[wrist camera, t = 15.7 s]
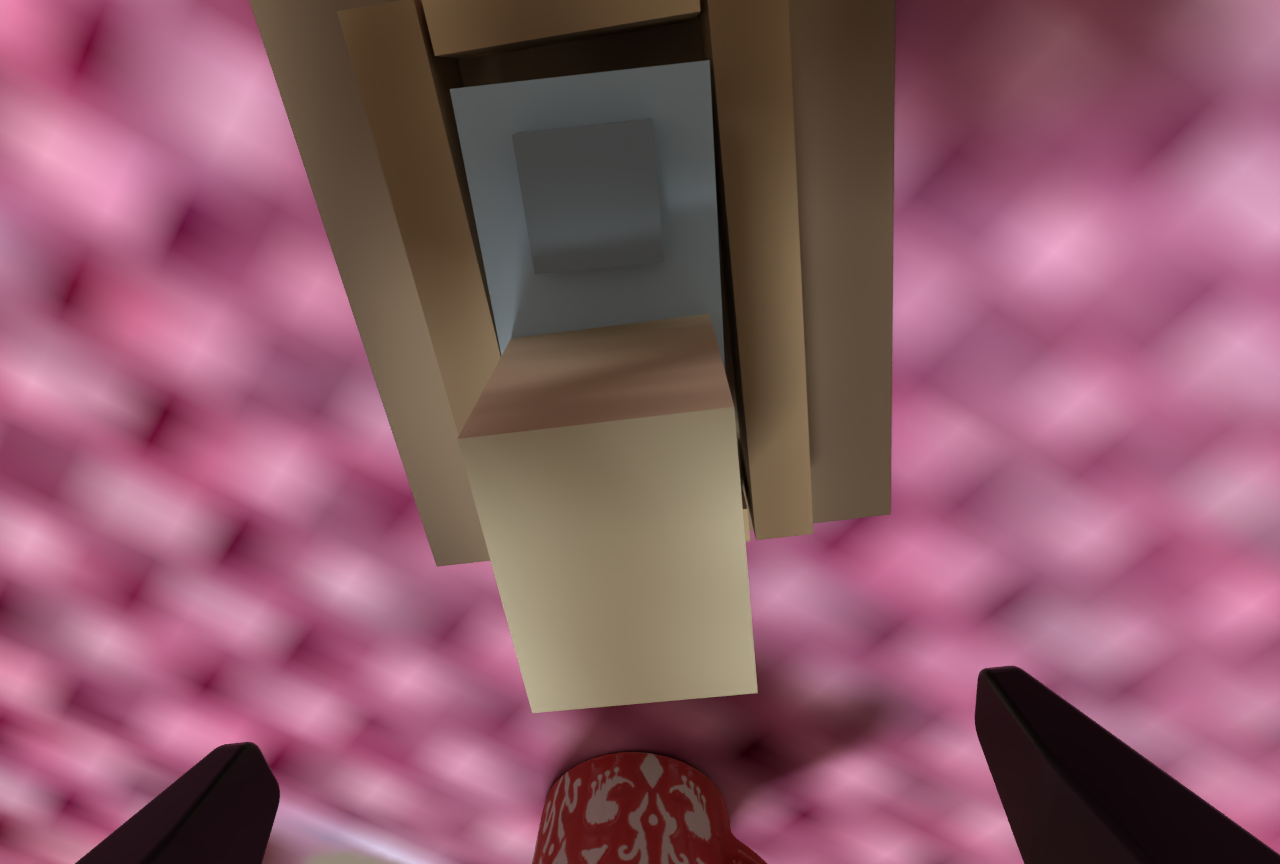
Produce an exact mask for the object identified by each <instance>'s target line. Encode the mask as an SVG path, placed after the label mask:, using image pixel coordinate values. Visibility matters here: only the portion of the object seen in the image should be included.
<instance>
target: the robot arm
mask: <svg viewBox="0 0 1280 864" xmlns="http://www.w3.org/2000/svg"><path fill="white" fill-rule="evenodd" d="M975 726H976V732H977V735H978V739H979V742H980V744H981V747H982V750H983V753H984V755H985V758H986V761H987V763H988V766H989V769H990V772H991V774H992V777H993V780H994V783H995V785H996V788H997V791H998V794H999V796H1000V799H1001V802H1002V804H1003V807H1004V810H1005V813H1006V815H1007V818H1008V821H1009V824H1010V826H1011V829H1012V832H1013V835H1014V837H1015V840H1016V843H1017V845H1018V848H1019V851H1020V853H1021V856H1022V859H1023V861H1024V864H1280V854H1278V853H1277V852H1275V851H1274V850H1273V849H1271V848H1270V847H1268V846H1267V845H1266V844H1264V843H1263V842H1262V841H1260V840H1259V839H1257V838H1256V837H1255V836H1253V835H1252V834H1250V833H1249V832H1248V831H1246V830H1245V829H1243V828H1242V827H1241V826H1239V825H1238V824H1237V823H1235V822H1234V821H1232V820H1231V819H1230V818H1228V817H1227V816H1225V815H1224V814H1223V813H1221V812H1220V811H1218V810H1217V809H1216V808H1214V807H1213V806H1212V805H1210V804H1209V803H1207V802H1206V801H1205V800H1203V799H1202V798H1200V797H1199V796H1198V795H1196V794H1195V793H1193V792H1192V791H1191V790H1189V789H1188V788H1187V787H1185V786H1184V785H1182V784H1181V783H1180V782H1178V781H1177V780H1175V779H1174V778H1173V777H1171V776H1170V775H1168V774H1167V773H1166V772H1164V771H1163V770H1162V769H1160V768H1159V767H1157V766H1156V765H1155V764H1153V763H1152V762H1150V761H1149V760H1148V759H1146V758H1145V757H1143V756H1142V755H1141V754H1139V753H1138V752H1137V751H1135V750H1134V749H1132V748H1131V747H1130V746H1128V745H1127V744H1125V743H1124V742H1123V741H1121V740H1120V739H1118V738H1117V737H1116V736H1114V735H1113V734H1111V733H1110V732H1109V731H1107V730H1106V729H1105V728H1103V727H1102V726H1100V725H1099V724H1098V723H1096V722H1095V721H1093V720H1092V719H1091V718H1089V717H1088V716H1086V715H1085V714H1084V713H1082V712H1081V711H1080V710H1078V709H1077V708H1075V707H1074V706H1073V705H1071V704H1070V703H1068V702H1067V701H1066V700H1064V699H1063V698H1061V697H1060V696H1059V695H1057V694H1056V693H1055V692H1053V691H1052V690H1050V689H1049V688H1048V687H1046V686H1045V685H1043V684H1042V683H1041V682H1039V681H1038V680H1036V679H1035V678H1034V677H1032V676H1031V675H1030V674H1028V673H1027V672H1025V671H1024V670H1022V669H1021V668H1018V667H1016V666H1003V667H993V668H985V669H983V670H981V671H980V673H979V676H978V683H977V695H976V707H975ZM279 799H280V789H279V784H278V782H277V780H276V778H275V776H274V774H273V772H272V771H271V769H270V767H269V765H268V763H267V761H266V759H265V758H264V756H263V754H262V752H261V750H260V748H259V747H258V746H257V745H256V744H254V743H252V742H243V743H233V744H225V745H222V746H219V747H217V748H216V749H214V750H213V751H212V752H210V753H209V754H208V755H207V756H206V757H204V758H203V759H202V760H201V761H200V762H198V763H197V764H196V765H195V766H193V767H192V768H191V769H190V770H189V771H187V772H186V773H185V774H184V775H182V776H181V777H180V778H179V779H178V780H176V781H175V782H174V783H173V784H171V785H170V786H169V787H168V788H167V789H165V790H164V791H163V792H162V793H161V794H159V795H158V796H157V797H156V798H154V799H153V800H152V801H151V802H150V803H148V804H147V805H146V806H145V807H143V808H142V809H141V810H140V811H139V812H137V813H136V814H135V815H134V816H132V817H131V818H130V819H129V820H128V821H126V822H125V823H124V824H123V825H122V826H120V827H119V828H118V829H117V830H115V831H114V832H113V833H112V834H111V835H109V836H108V837H107V838H106V839H104V840H103V841H102V842H101V843H100V844H98V845H97V846H96V847H95V848H93V849H92V850H91V851H90V852H89V853H87V854H86V855H85V856H84V857H82V858H81V859H80V860H79V861H78V862H76V863H75V864H262V861H263V858H264V854H265V851H266V847H267V844H268V840H269V837H270V833H271V830H272V826H273V823H274V819H275V816H276V812H277V809H278V805H279Z"/></svg>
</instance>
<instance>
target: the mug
mask: <svg viewBox="0 0 1280 864" xmlns="http://www.w3.org/2000/svg"><path fill="white" fill-rule="evenodd" d="M532 864H767V863H766V862H765V861H764V860H763V859H762V858H761V857H760V856H758V855H757V854H756V853H755V852H754V851H752V850H751V849H750V848H749V847H747V846H746V845H745V844H743V843H742V842H740V841H739V840H738V839H736V838H735V837H734V836H733V834H732V833H731V828H730V821H729V815H728V811H727V807H726V804H725V800H724V798H723V796H722V794H721V793H720V791H719V790H718V788H717V787H716V786H715V785H714V784H713V782H712V781H711V780H710V779H709V778H708V777H706V776H705V775H704V774H703V773H701V772H700V771H698V770H697V769H695V768H693V767H691V766H690V765H688V764H686V763H683V762H681V761H678V760H676V759H673V758H670V757H666V756H662V755H656V754H651V753H640V752H622V753H614V754H607V755H603V756H599V757H596V758H593V759H590V760H587V761H585V762H582V763H580V764H578V765H577V766H575V767H573V768H572V769H570V770H569V771H567V772H566V773H565V774H564V775H562V776H561V777H560V778H559V779H558V780H557V781H556V782H555V784H554V785H553V786H552V788H551V790H550V792H549V794H548V796H547V799H546V802H545V805H544V809H543V813H542V817H541V822H540V827H539V832H538V836H537V842H536V847H535V852H534V857H533V861H532Z"/></svg>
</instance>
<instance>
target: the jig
mask: <svg viewBox="0 0 1280 864" xmlns="http://www.w3.org/2000/svg"><path fill="white" fill-rule="evenodd" d="M249 1H250V4H251V7H252V10H253V13H254V16H255V19H256V22H257V25H258V28H259V31H260V34H261V37H262V40H263V43H264V46H265V49H266V52H267V55H268V58H269V61H270V64H271V67H272V70H273V73H274V76H275V79H276V83H277V86H278V89H279V92H280V95H281V98H282V101H283V104H284V107H285V110H286V113H287V116H288V119H289V122H290V125H291V128H292V131H293V134H294V137H295V140H296V143H297V146H298V149H299V152H300V155H301V158H302V161H303V164H304V167H305V170H306V173H307V176H308V179H309V182H310V185H311V188H312V191H313V194H314V197H315V200H316V203H317V206H318V209H319V212H320V215H321V218H322V221H323V224H324V227H325V230H326V233H327V236H328V239H329V243H330V246H331V249H332V252H333V255H334V258H335V261H336V264H337V267H338V270H339V273H340V276H341V279H342V282H343V285H344V288H345V291H346V294H347V297H348V300H349V303H350V306H351V309H352V312H353V315H354V318H355V321H356V324H357V327H358V330H359V333H360V336H361V339H362V342H363V345H364V348H365V351H366V354H367V357H368V360H369V363H370V366H371V369H372V372H373V375H374V378H375V381H376V384H377V387H378V390H379V393H380V396H381V399H382V403H383V406H384V409H385V412H386V415H387V418H388V421H389V424H390V427H391V430H392V433H393V436H394V439H395V442H396V445H397V448H398V451H399V454H400V457H401V460H402V463H403V466H404V469H405V472H406V475H407V478H408V481H409V484H410V487H411V490H412V493H413V496H414V499H415V502H416V505H417V508H418V511H419V514H420V517H421V520H422V523H423V526H424V529H425V532H426V535H427V538H428V541H429V544H430V547H431V550H432V553H433V556H434V559H435V563H436V566H446V565H455V564H463V563H472V562H481V561H489V560H490V557H489V553H488V549H487V546H486V542H485V538H484V535H483V531H482V527H481V524H480V520H479V516H478V513H477V509H476V506H475V502H474V498H473V495H472V491H471V487H470V484H469V480H468V476H467V473H466V469H465V465H464V462H463V458H462V454H461V451H460V447H459V443H458V440H457V439H458V437H459V435H460V433H461V431H462V429H463V427H464V426H465V424H466V422H467V420H468V418H469V416H470V414H471V412H472V411H473V409H474V407H475V405H476V403H477V401H478V399H479V397H480V396H481V394H482V392H483V390H484V388H485V386H486V384H487V382H488V380H489V379H490V377H491V375H492V373H493V371H494V369H495V367H496V365H497V364H498V362H499V360H500V358H501V356H502V355H501V350H500V345H499V340H498V335H497V330H496V325H495V320H494V314H493V309H492V304H491V299H490V294H489V289H488V284H487V278H486V273H485V268H484V263H483V258H482V253H481V248H480V242H479V237H478V232H477V227H476V222H475V217H474V212H473V206H472V201H471V196H470V191H469V186H468V181H467V176H466V170H465V165H464V160H463V155H462V150H461V145H460V140H459V134H458V129H457V124H456V119H455V114H454V109H453V104H452V99H451V93H450V89H454V88H463V87H472V86H481V85H490V84H499V83H508V82H517V81H526V80H535V79H544V78H553V77H562V76H571V75H580V74H589V73H598V72H607V71H616V70H625V69H634V68H643V67H652V66H661V65H670V64H679V63H688V62H697V61H706V60H710V78H711V98H712V119H713V139H714V159H715V179H716V199H717V219H718V239H719V259H720V279H721V299H722V319H723V339H724V359H725V374H726V377H727V381H728V385H729V389H730V393H731V396H732V400H733V404H734V410H735V422H736V434H737V446H738V458H739V471H740V483H741V495H742V507H743V519H744V532H745V541H750V530H754V533H755V538H756V540H762V539H771V538H780V537H788V536H797V535H806V534H813V523H820V522H829V521H837V520H846V519H855V518H863V517H872V516H881V515H889V514H891V416H892V307H893V197H894V88H895V0H249Z"/></svg>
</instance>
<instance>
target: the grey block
mask: <svg viewBox="0 0 1280 864" xmlns="http://www.w3.org/2000/svg"><path fill="white" fill-rule="evenodd" d="M450 93H451V99H452V104H453V109H454V114H455V119H456V124H457V129H458V134H459V140H460V145H461V150H462V155H463V160H464V165H465V170H466V176H467V181H468V186H469V191H470V196H471V201H472V206H473V212H474V217H475V222H476V227H477V232H478V237H479V242H480V248H481V253H482V258H483V263H484V268H485V273H486V278H487V284H488V289H489V294H490V299H491V304H492V309H493V314H494V320H495V325H496V330H497V335H498V340H499V345H500V350H501V355H502V354H503V352H504V350H505V349H506V347H507V345H508V343H509V341H510V339H511V338H518V337H526V336H534V335H542V334H550V333H558V332H566V331H574V330H582V329H590V328H598V327H606V326H614V325H622V324H630V323H638V322H646V321H654V320H662V319H670V318H678V317H686V316H694V315H702V314H710V317H711V321H712V324H713V328H714V332H715V336H716V340H717V343H718V347H719V351H720V355H721V358H722V362H723V366H724V370H725V359H724V339H723V319H722V299H721V279H720V259H719V239H718V219H717V199H716V179H715V159H714V139H713V119H712V98H711V78H710V60H706V61H697V62H688V63H679V64H670V65H661V66H652V67H643V68H634V69H625V70H616V71H607V72H598V73H589V74H580V75H571V76H562V77H553V78H544V79H535V80H526V81H517V82H508V83H499V84H490V85H481V86H472V87H463V88H454V89H450Z"/></svg>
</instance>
